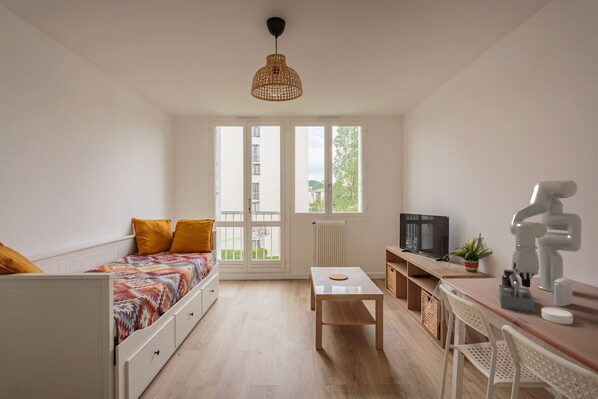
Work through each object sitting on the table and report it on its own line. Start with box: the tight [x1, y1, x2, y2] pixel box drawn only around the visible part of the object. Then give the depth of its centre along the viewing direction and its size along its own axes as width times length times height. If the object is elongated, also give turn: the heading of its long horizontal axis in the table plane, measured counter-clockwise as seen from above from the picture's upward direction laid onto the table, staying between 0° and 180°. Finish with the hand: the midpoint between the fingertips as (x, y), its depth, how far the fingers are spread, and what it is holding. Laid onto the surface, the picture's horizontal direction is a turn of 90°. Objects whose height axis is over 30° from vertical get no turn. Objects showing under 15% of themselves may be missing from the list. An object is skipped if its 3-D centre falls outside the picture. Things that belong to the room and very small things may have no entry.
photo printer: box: [552, 277, 573, 307], centre depth 136 cm, size 10×4×12 cm, turn 115°
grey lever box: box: [498, 281, 535, 314], centre depth 137 cm, size 18×12×12 cm, turn 147°
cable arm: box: [510, 274, 521, 287], centre depth 139 cm, size 14×3×3 cm, turn 147°
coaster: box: [540, 306, 574, 325], centre depth 120 cm, size 10×10×4 cm
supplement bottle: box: [501, 269, 514, 286], centre depth 153 cm, size 7×7×12 cm
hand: (525, 286), depth 138 cm, fingers closed
